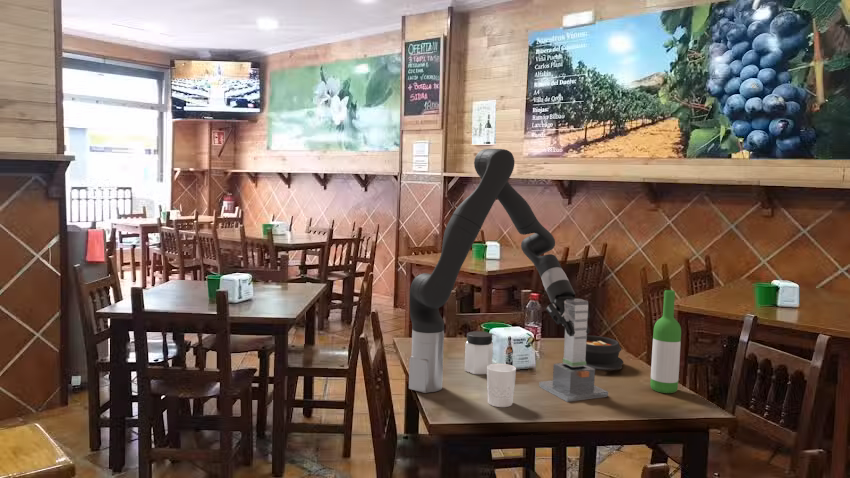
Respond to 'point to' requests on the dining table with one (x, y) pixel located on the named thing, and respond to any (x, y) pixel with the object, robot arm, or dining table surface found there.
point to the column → (576, 333)
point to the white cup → (500, 384)
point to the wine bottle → (666, 349)
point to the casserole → (603, 353)
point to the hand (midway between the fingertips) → (579, 334)
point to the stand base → (573, 383)
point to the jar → (478, 352)
